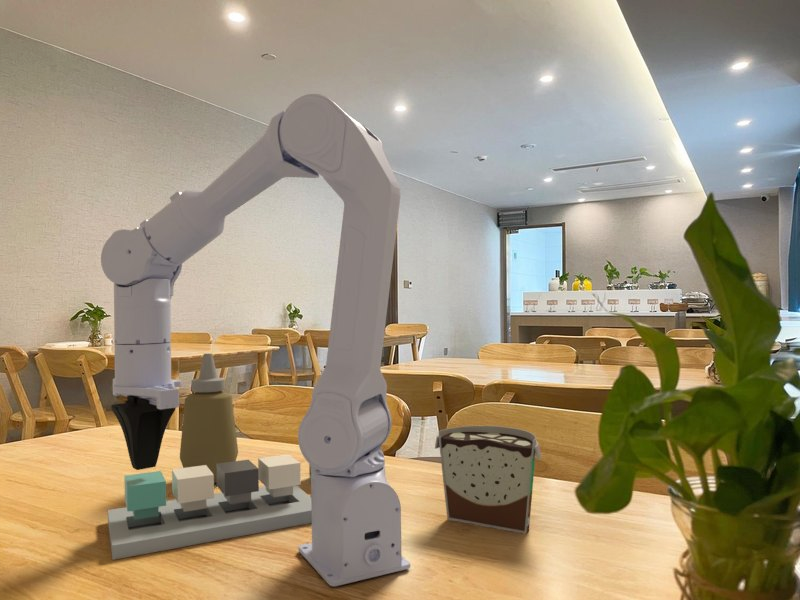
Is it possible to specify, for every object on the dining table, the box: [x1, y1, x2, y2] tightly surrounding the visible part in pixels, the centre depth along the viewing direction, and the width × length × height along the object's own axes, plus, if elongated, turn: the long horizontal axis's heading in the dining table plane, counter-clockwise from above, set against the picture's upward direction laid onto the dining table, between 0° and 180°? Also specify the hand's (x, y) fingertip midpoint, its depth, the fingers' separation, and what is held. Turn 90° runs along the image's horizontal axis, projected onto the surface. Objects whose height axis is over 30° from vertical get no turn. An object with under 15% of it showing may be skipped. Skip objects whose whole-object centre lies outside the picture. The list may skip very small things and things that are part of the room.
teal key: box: [124, 470, 167, 520], centre depth 67 cm, size 5×4×4 cm
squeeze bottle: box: [179, 353, 239, 484], centre depth 87 cm, size 8×8×18 cm
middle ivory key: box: [171, 465, 215, 512], centre depth 69 cm, size 5×4×4 cm
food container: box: [434, 425, 542, 535], centre depth 70 cm, size 12×6×10 cm, turn 59°
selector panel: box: [107, 485, 312, 561], centre depth 70 cm, size 12×22×1 cm, turn 117°
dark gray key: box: [216, 459, 260, 504], centre depth 71 cm, size 5×4×4 cm
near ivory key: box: [257, 453, 302, 497], centre depth 74 cm, size 5×4×4 cm
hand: (144, 467), depth 67 cm, fingers closed
